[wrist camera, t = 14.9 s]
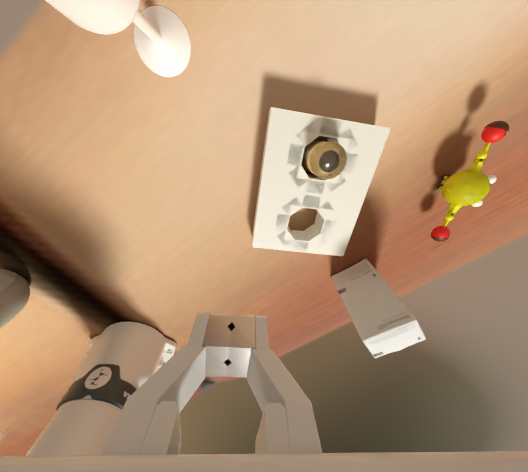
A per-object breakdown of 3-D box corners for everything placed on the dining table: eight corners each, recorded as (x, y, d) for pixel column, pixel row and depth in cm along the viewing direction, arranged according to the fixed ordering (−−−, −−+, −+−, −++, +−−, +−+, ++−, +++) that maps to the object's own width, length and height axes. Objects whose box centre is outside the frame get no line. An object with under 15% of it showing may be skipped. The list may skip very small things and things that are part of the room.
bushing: (324, 172, 33) (340, 181, 27) (297, 168, 33) (308, 177, 26) (331, 142, 31) (351, 145, 25) (303, 138, 31) (316, 139, 25)
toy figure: (433, 231, 39) (466, 249, 33) (406, 229, 39) (435, 247, 33) (488, 124, 31) (544, 122, 25) (455, 120, 31) (504, 117, 25)
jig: (335, 245, 39) (343, 256, 36) (252, 236, 38) (252, 247, 34) (374, 128, 31) (390, 128, 27) (268, 110, 29) (271, 107, 25)
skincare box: (365, 257, 41) (419, 316, 28) (376, 276, 43) (430, 339, 30) (328, 277, 43) (362, 341, 30) (340, 295, 45) (376, 362, 32)
